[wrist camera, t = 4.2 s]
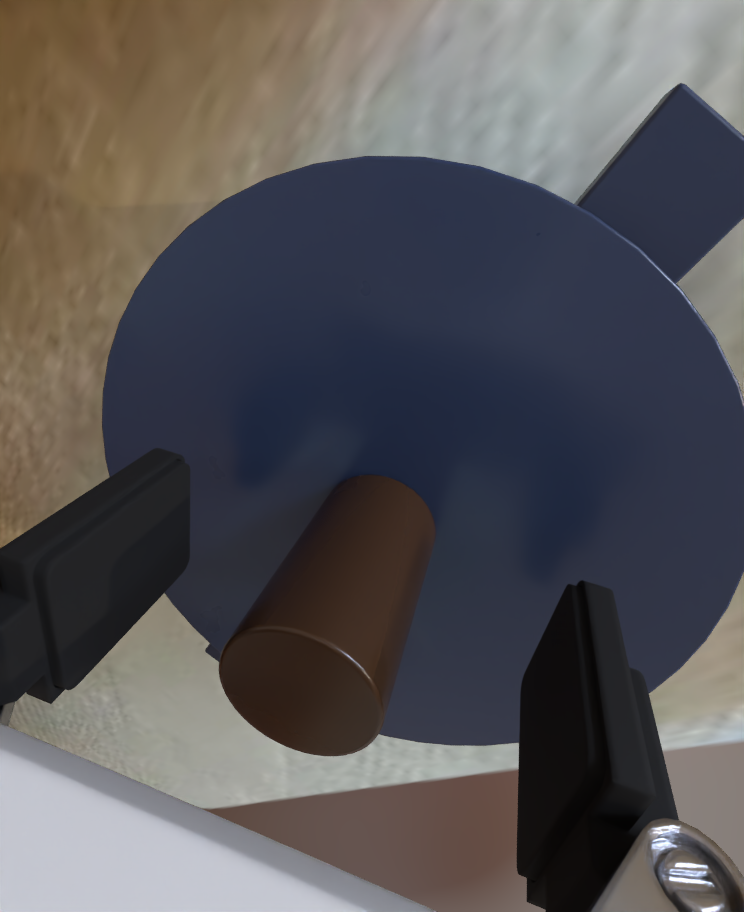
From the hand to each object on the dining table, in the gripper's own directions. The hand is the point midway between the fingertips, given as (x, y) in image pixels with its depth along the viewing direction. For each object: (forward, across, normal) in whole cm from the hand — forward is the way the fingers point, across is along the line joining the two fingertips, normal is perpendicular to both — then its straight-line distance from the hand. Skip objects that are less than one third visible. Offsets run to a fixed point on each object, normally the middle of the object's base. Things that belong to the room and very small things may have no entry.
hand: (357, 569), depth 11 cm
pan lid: (+2, 0, 0) cm, 2 cm away
